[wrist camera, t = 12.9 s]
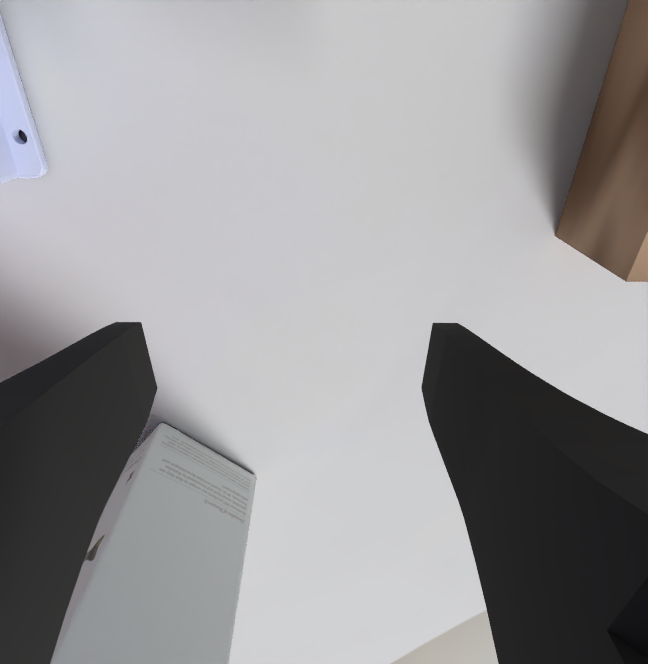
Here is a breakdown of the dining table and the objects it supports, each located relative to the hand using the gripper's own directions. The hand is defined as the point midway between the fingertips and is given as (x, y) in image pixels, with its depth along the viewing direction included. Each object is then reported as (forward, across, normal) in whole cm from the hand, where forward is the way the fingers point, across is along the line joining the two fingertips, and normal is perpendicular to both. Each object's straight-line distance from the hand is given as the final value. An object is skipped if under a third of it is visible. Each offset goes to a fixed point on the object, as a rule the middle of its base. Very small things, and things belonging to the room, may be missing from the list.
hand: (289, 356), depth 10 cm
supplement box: (+10, +8, +16) cm, 20 cm away
